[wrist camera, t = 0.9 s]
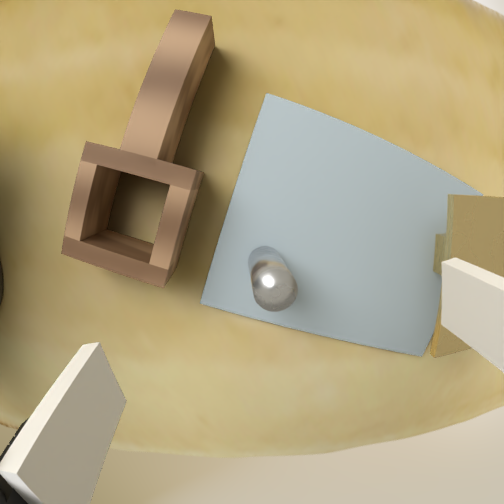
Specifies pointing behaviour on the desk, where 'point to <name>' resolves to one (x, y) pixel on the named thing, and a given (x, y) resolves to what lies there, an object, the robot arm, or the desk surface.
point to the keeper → (468, 250)
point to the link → (145, 161)
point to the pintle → (271, 280)
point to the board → (336, 230)
